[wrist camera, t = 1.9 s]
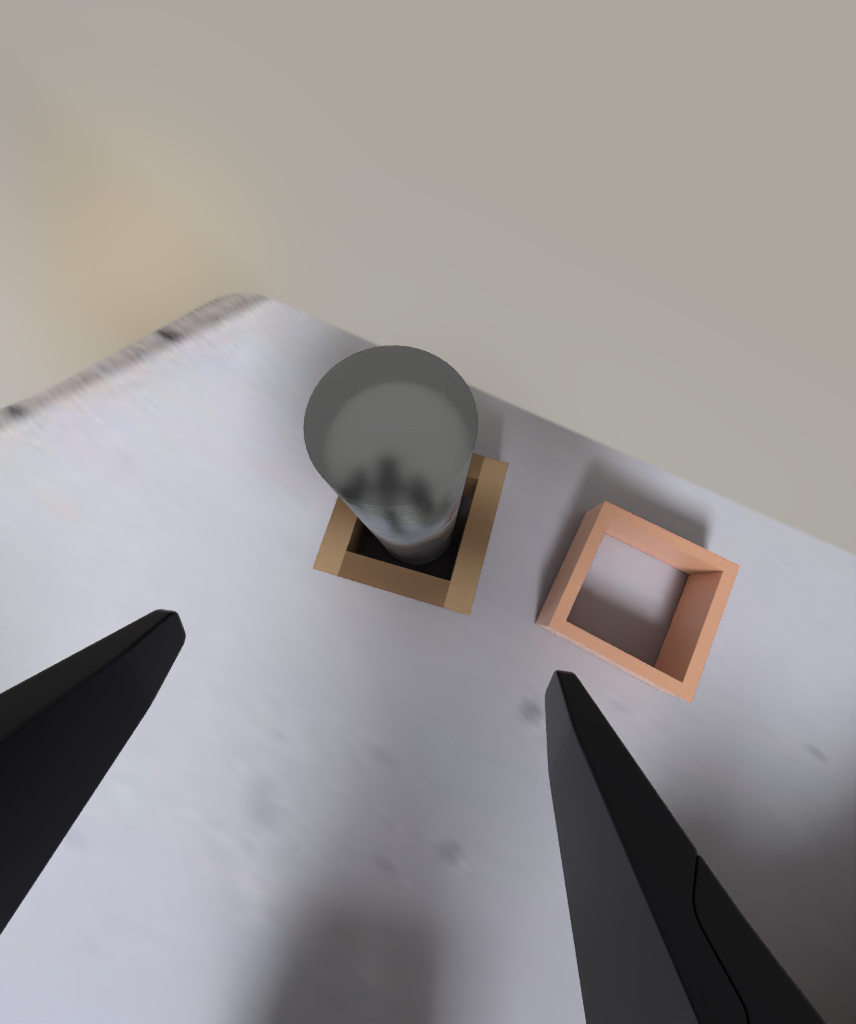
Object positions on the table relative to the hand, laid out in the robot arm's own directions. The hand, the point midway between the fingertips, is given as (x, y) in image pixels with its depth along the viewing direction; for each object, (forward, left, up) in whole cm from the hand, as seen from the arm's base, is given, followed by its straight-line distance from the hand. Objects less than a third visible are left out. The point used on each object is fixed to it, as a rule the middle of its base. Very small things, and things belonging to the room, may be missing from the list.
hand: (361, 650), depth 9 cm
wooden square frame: (+4, -3, -11) cm, 13 cm away
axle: (+4, -3, -11) cm, 13 cm away
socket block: (-4, -11, -11) cm, 16 cm away
